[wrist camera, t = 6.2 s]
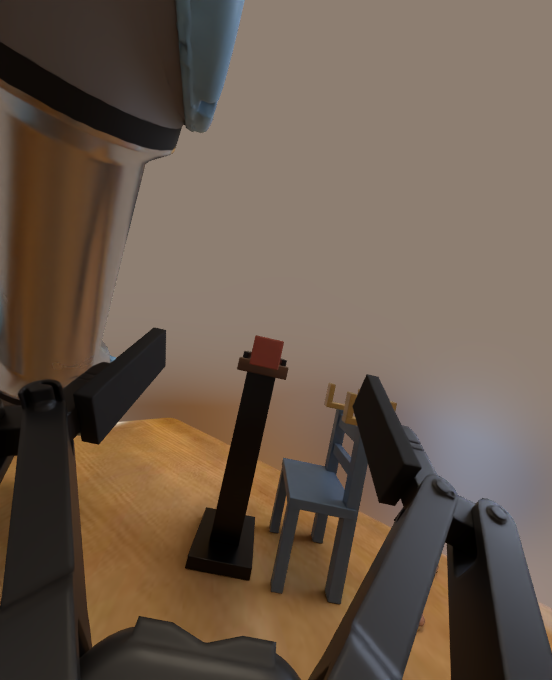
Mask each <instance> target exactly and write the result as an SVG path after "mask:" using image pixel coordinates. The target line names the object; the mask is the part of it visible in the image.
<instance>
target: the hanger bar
mask: <svg viewBox="0 0 552 680" xmlns="http://www.w3.org/2000/svg"><path fill="white" fill-rule="evenodd" d="M283 344H284V342H283V341H279V340H274V339H270V338H265V337H260V336H255V340H254V345H253V349H252V354H251V358H250V363H249V364H252V365H256V366H261V367H266V368H270V369H275V370H278V367H279V363H280V358H281V353H282V349H283Z"/></svg>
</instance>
